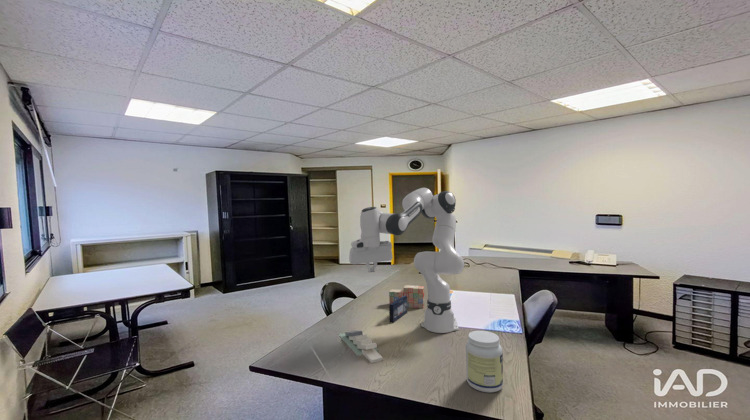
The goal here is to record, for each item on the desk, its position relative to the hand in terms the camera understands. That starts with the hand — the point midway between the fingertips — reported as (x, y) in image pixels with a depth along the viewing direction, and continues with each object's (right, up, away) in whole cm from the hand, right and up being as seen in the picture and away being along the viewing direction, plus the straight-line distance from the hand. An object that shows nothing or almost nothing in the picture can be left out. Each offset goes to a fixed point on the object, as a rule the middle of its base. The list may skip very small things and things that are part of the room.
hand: (371, 271), depth 147 cm
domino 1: (-11, -32, +8) cm, 34 cm away
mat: (-7, -33, 0) cm, 34 cm away
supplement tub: (+40, -33, -36) cm, 63 cm away
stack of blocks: (+22, -32, +52) cm, 64 cm away
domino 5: (-2, -32, -10) cm, 33 cm away
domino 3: (-6, -32, -1) cm, 32 cm away
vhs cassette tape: (+15, -32, +31) cm, 47 cm away
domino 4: (-4, -32, -6) cm, 33 cm away
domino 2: (-9, -32, +3) cm, 33 cm away
